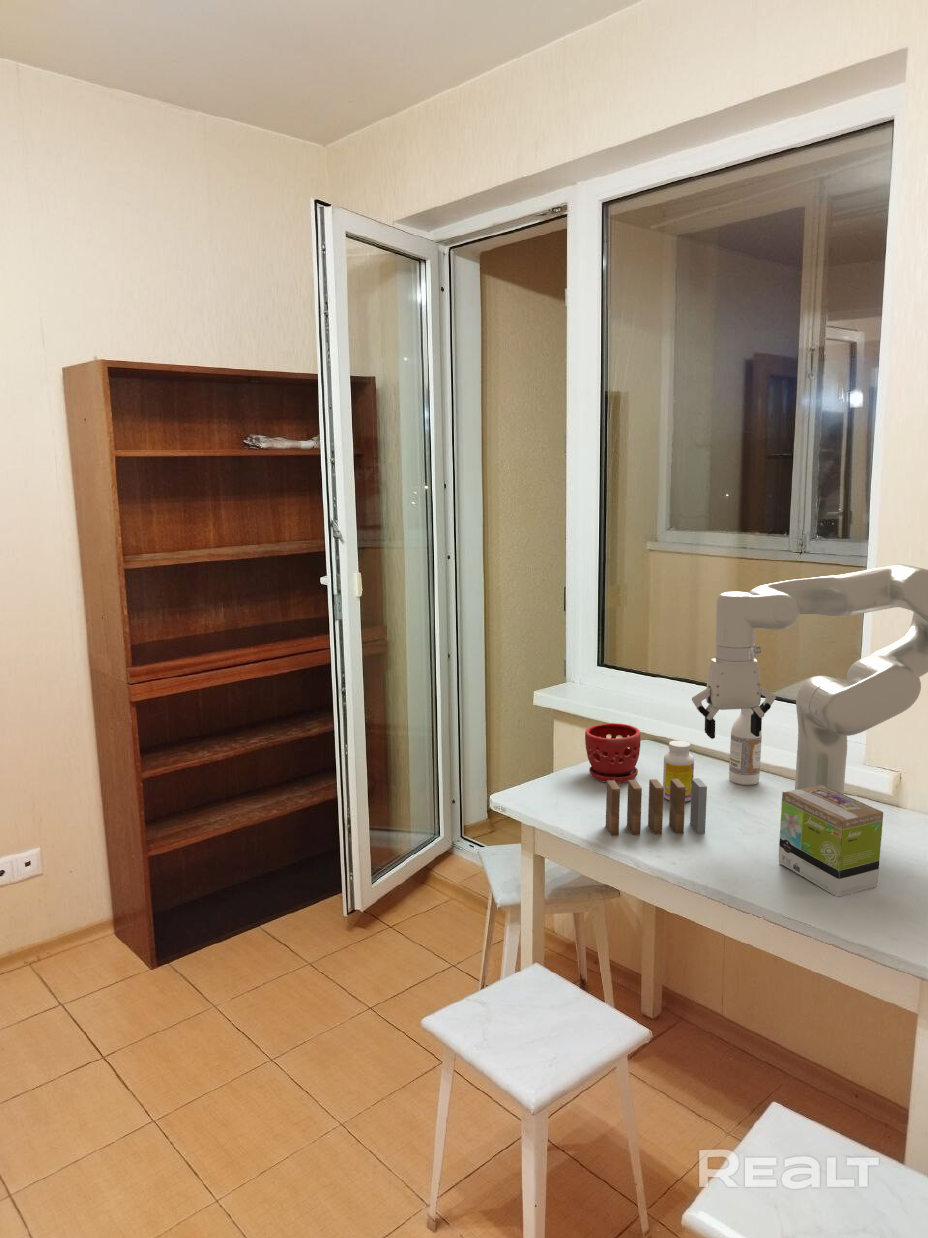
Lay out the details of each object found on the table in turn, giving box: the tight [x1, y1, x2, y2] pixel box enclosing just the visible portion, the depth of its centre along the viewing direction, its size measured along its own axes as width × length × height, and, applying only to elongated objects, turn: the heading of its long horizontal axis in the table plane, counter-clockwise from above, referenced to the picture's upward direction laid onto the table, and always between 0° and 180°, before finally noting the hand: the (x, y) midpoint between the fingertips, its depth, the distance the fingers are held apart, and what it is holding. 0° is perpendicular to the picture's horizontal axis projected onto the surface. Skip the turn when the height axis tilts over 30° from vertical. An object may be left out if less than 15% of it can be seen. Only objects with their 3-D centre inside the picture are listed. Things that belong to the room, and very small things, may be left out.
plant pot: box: [584, 722, 642, 785], centre depth 216 cm, size 13×13×12 cm
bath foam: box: [728, 708, 763, 786], centre depth 213 cm, size 7×7×20 cm
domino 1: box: [605, 780, 621, 836], centre depth 185 cm, size 2×5×10 cm, turn 3°
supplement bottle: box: [662, 740, 695, 803], centre depth 202 cm, size 7×7×13 cm
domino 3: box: [647, 778, 664, 835], centre depth 185 cm, size 2×5×10 cm, turn 4°
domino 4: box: [668, 779, 686, 835], centre depth 185 cm, size 2×5×10 cm, turn 4°
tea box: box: [778, 784, 884, 898], centre depth 163 cm, size 15×10×15 cm, turn 23°
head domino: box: [689, 777, 708, 834], centre depth 186 cm, size 2×5×10 cm, turn 3°
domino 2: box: [626, 779, 643, 836], centre depth 185 cm, size 2×5×10 cm, turn 4°
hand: (732, 735), depth 184 cm, fingers open, 8 cm apart
